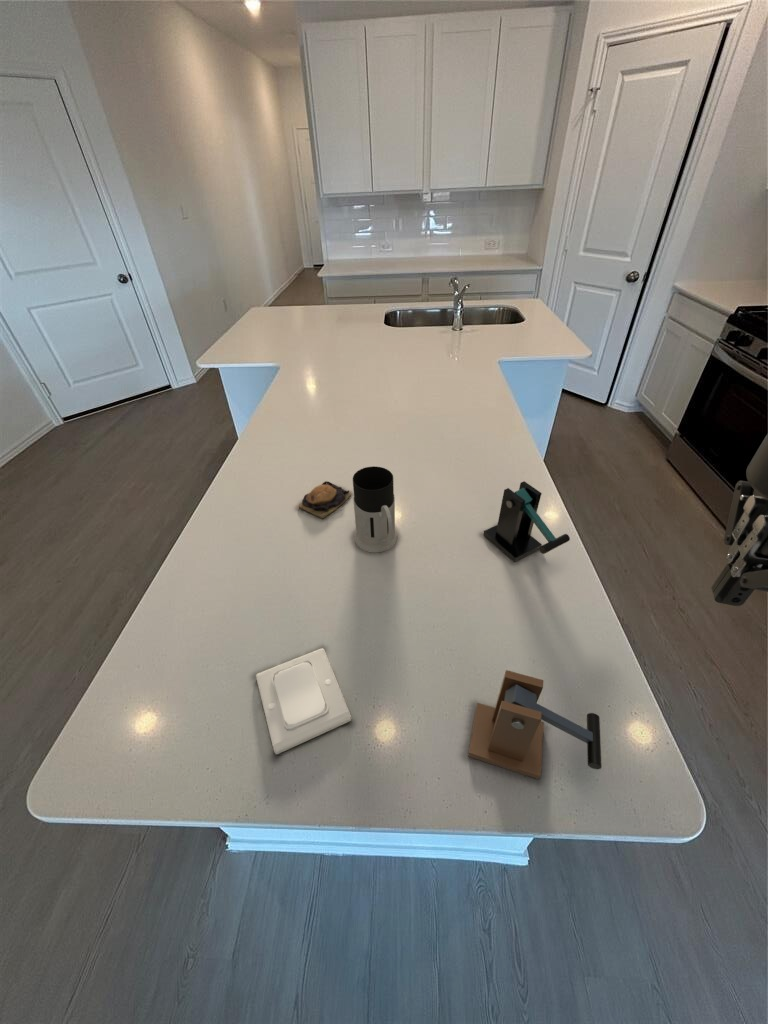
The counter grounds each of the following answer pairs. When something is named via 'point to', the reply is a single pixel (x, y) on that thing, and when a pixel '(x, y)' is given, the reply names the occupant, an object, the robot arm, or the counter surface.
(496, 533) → the far bracket
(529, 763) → the near bracket
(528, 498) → the far lever
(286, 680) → the light switch
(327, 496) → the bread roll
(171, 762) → the counter surface
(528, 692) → the near lever
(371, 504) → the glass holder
